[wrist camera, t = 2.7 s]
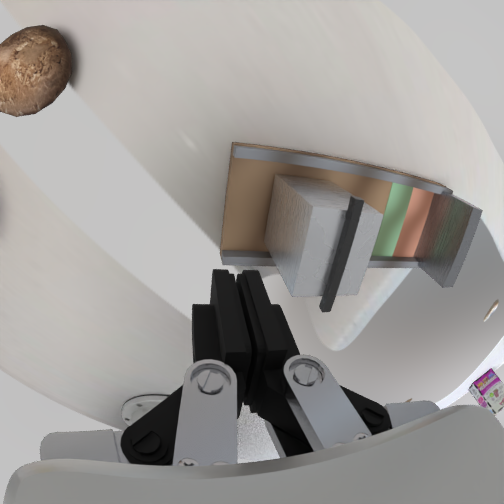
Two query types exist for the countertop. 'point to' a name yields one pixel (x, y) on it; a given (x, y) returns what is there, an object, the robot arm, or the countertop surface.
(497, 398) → the candy bar box
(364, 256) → the block
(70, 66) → the mushroom
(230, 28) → the countertop surface
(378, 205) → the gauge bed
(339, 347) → the countertop surface
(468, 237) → the upright gray plate
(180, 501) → the robot arm
